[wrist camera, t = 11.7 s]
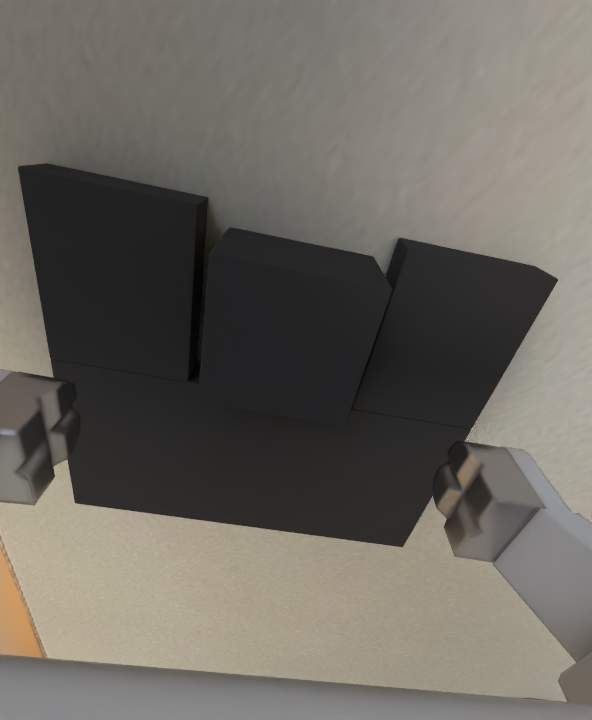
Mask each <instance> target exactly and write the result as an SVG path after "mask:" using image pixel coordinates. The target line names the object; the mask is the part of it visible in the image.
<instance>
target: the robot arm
mask: <svg viewBox="0 0 592 720" xmlns="http://www.w3.org/2000/svg"><path fill="white" fill-rule="evenodd" d="M76 398H77V394H76V389H75V384H73V383H72V382H70V381H68V380H63V379H57V378H51V377H46V376H40V375H34V374H29V373H23V372H14V371H9V370H4V369H0V502H5V503H15V504H26V505H35V504H36V503H37V501H38V500H39V498H40V497H41V495H42V494H43V493H44V491H45V490H46V488H47V487H48V486H49V484H50V483H51V481H52V480H53V479H54V477H55V475H54V470H53V466H55V465H57V464H59V463H61V462H63V461H64V460H66V459H68V457H69V456H70V454H71V453H72V451H73V450H74V448H75V446H76V443H77V440H78V438H79V435H80V427H81V420H80V414H79V413H78V412H77V411H76V410H75V409H74V408H73V407H72V406H71V404H72V403H73V402H74V401H75V399H76ZM447 455H448V458H449V461H448V462H446V463H445V464H443V465H441V466H439V468H438V470H437V472H436V474H435V476H434V479H433V487H432V491H433V499H434V501H435V504H436V507H437V509H438V510H439V511H440V512H441V513H442V514H443V515H444V516H445V517H446V518H447V520H446V523H445V525H444V529H445V532H446V534H447V537H448V540H449V543H450V545H451V548H452V551H453V553H454V556H455V557H461V558H468V559H474V560H481V561H487V562H494V563H493V565H494V567H495V568H496V569H497V570H498V571H499V572H500V574H501V575H502V576H503V577H504V578H505V579H506V581H507V582H508V583H509V584H510V585H511V586H512V588H513V589H514V590H515V591H516V592H517V593H518V595H519V596H520V597H521V598H522V599H523V600H524V602H525V603H526V604H527V605H528V606H529V607H530V609H531V610H532V611H533V612H534V613H535V614H536V616H537V617H538V618H539V619H540V620H541V621H542V623H543V624H544V625H545V626H546V627H547V629H548V630H549V631H550V632H551V633H552V634H553V636H554V637H555V638H556V639H557V640H558V641H559V643H560V644H561V645H562V646H563V647H564V648H565V650H566V651H567V652H568V653H569V654H570V655H571V657H572V658H573V659H574V660H575V661H576V662H577V663H575V664H574V665H572V666H571V667H570V668H568V669H567V670H565V671H564V672H563V673H561V675H560V677H559V680H558V682H559V684H560V687H561V689H562V691H563V693H564V695H565V697H566V699H567V702H560V701H548V700H536V699H524V698H513V697H501V696H489V695H477V694H465V693H453V692H441V691H430V690H418V689H406V688H394V687H382V686H370V685H359V684H347V683H335V682H323V681H311V680H299V679H288V678H276V677H264V676H252V675H240V674H228V673H217V672H205V671H193V670H181V669H169V668H157V667H146V666H134V665H122V664H110V663H98V662H86V661H74V660H62V659H50V658H38V657H26V656H14V655H2V654H0V720H592V523H591V522H590V521H588V520H587V519H586V518H584V517H583V516H582V515H580V514H579V513H572V512H571V510H570V509H569V508H568V506H567V505H566V503H565V502H564V501H563V499H562V498H561V497H560V495H559V494H558V492H557V491H556V490H555V488H554V487H553V485H552V484H551V483H550V481H549V480H548V479H547V477H546V476H545V474H544V473H543V472H542V470H541V469H540V467H539V466H538V465H537V463H536V462H535V461H534V459H533V458H532V456H531V455H530V454H529V453H527V452H526V451H524V450H523V449H516V448H509V447H497V446H491V445H484V444H477V443H470V442H464V441H456V442H455V443H454V444H452V445H451V447H450V449H449V450H448V452H447Z"/></svg>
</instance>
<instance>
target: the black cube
mask: <svg viewBox="0 0 592 720" xmlns="http://www.w3.org/2000/svg"><path fill="white" fill-rule="evenodd" d="M391 293H392V287H391V286H390V284H389V282H388V281H387V279H386V277H385V276H384V274H383V272H382V271H381V269H380V267H379V265H378V264H377V262H376V260H375V259H374V257H372V256H367V255H362V254H357V253H353V252H348V251H343V250H338V249H333V248H328V247H323V246H319V245H314V244H309V243H304V242H299V241H294V240H290V239H285V238H280V237H275V236H270V235H265V234H260V233H256V232H251V231H246V230H241V229H236V228H231V227H230V228H229V229H228V230H227V231H226V233H225V234H224V235H223V236H222V238H221V239H220V240H219V241H218V243H217V244H216V245H215V246H214V248H213V249H212V250H211V251H210V253H209V260H208V273H207V286H206V299H205V312H204V325H203V338H202V351H201V364H200V377H199V390H198V402H200V403H206V404H212V405H218V406H224V407H230V408H236V409H243V410H249V411H255V412H261V413H267V414H273V415H279V416H286V417H292V418H298V419H304V420H310V421H316V422H322V423H329V424H335V425H341V426H345V424H346V422H347V419H348V416H349V413H350V410H351V407H352V404H353V402H354V399H355V396H356V393H357V390H358V387H359V384H360V382H361V379H362V376H363V373H364V370H365V367H366V364H367V361H368V359H369V356H370V353H371V350H372V347H373V344H374V341H375V339H376V336H377V333H378V330H379V327H380V324H381V321H382V319H383V316H384V313H385V310H386V307H387V304H388V301H389V299H390V296H391Z"/></svg>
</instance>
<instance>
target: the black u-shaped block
mask: <svg viewBox="0 0 592 720" xmlns="http://www.w3.org/2000/svg"><path fill="white" fill-rule="evenodd" d="M18 170H19V176H20V182H21V188H22V194H23V200H24V206H25V212H26V218H27V223H28V229H29V235H30V241H31V247H32V253H33V259H34V265H35V271H36V276H37V282H38V288H39V294H40V300H41V306H42V312H43V318H44V324H45V330H46V335H47V341H48V347H49V353H50V358H51V364H52V370H53V376H54V378H57V379H63V380H68V381H70V382H72V383H73V384H75V389H76V394H77V398H76V399H75V401H74V402H73V403H72V404H71V406H72V407H73V408H74V409H75V410H76V411H77V412H78V413H79V414H80V420H81V427H80V435H79V438H78V440H77V443H76V446H75V448H74V450H73V451H72V453H71V454H70V456H69V457H68V464H69V470H70V476H71V482H72V488H73V494H74V500H75V503H78V504H85V505H93V506H100V507H108V508H115V509H123V510H130V511H137V512H145V513H152V514H160V515H167V516H175V517H182V518H190V519H197V520H204V521H212V522H219V523H227V524H234V525H242V526H249V527H257V528H264V529H272V530H279V531H286V532H294V533H301V534H309V535H316V536H324V537H331V538H339V539H346V540H353V541H361V542H368V543H376V544H383V545H391V546H398V547H403V546H404V544H405V542H406V541H407V539H408V537H409V535H410V534H411V532H412V530H413V529H414V527H415V525H416V523H417V522H418V520H419V518H420V516H421V515H422V513H423V511H424V510H425V508H426V506H427V504H428V503H429V501H430V499H431V498H432V496H433V491H432V487H433V479H434V476H435V474H436V472H437V470H438V468H439V466H441V465H443V464H445V463H446V462H448V461H449V458H448V455H447V452H448V450H449V449H450V447H451V445H452V444H454V443H455V442H456V441H465V439H466V437H467V436H468V434H469V432H470V431H471V428H472V427H473V425H474V424H475V422H476V420H477V419H478V417H479V415H480V413H481V412H482V410H483V408H484V407H485V405H486V403H487V401H488V400H489V398H490V396H491V394H492V393H493V391H494V389H495V388H496V386H497V384H498V382H499V381H500V379H501V377H502V376H503V374H504V372H505V370H506V369H507V367H508V365H509V364H510V362H511V360H512V358H513V357H514V355H515V353H516V351H517V350H518V348H519V346H520V345H521V343H522V341H523V339H524V338H525V336H526V334H527V333H528V331H529V329H530V327H531V326H532V324H533V322H534V321H535V319H536V317H537V315H538V314H539V312H540V310H541V309H542V307H543V305H544V303H545V302H546V300H547V298H548V296H549V295H550V293H551V291H552V290H553V288H554V286H555V284H556V283H557V281H558V279H557V278H555V277H553V276H552V275H550V274H548V273H546V272H544V271H543V270H541V269H539V268H537V267H535V266H530V265H526V264H521V263H516V262H511V261H507V260H502V259H497V258H492V257H488V256H483V255H478V254H474V253H469V252H464V251H459V250H455V249H450V248H445V247H440V246H436V245H431V244H426V243H421V242H417V241H412V240H407V239H402V238H399V239H398V242H397V245H396V248H395V251H394V254H393V257H392V260H391V263H390V266H389V269H388V272H387V275H386V279H387V281H388V282H389V284H390V286H391V287H392V293H391V296H390V299H389V301H388V304H387V307H386V310H385V313H384V316H383V319H382V321H381V324H380V327H379V330H378V333H377V336H376V339H375V341H374V344H373V347H372V350H371V353H370V356H369V359H368V361H367V364H366V367H365V370H364V373H363V376H362V379H361V382H360V384H359V387H358V390H357V393H356V396H355V399H354V402H353V404H352V407H351V410H350V413H349V416H348V419H347V422H346V424H345V426H341V425H335V424H329V423H322V422H316V421H310V420H304V419H298V418H292V417H286V416H279V415H273V414H267V413H261V412H255V411H249V410H243V409H236V408H230V407H224V406H218V405H212V404H206V403H200V402H198V390H199V377H200V364H196V363H197V350H198V336H199V321H200V307H201V292H202V278H203V263H204V248H205V234H206V219H207V205H208V198H207V197H204V196H199V195H194V194H189V193H185V192H180V191H175V190H170V189H166V188H161V187H156V186H151V185H147V184H142V183H137V182H133V181H128V180H123V179H118V178H114V177H109V176H104V175H99V174H95V173H90V172H85V171H80V170H76V169H71V168H66V167H61V166H57V165H52V164H47V163H46V164H36V165H26V166H19V167H18Z"/></svg>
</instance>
